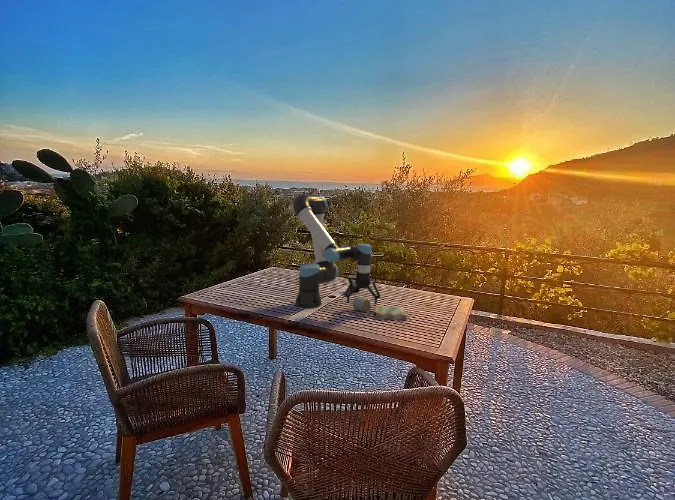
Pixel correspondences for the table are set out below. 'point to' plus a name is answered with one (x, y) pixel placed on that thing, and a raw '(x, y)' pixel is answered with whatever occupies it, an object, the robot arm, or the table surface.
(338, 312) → the table surface
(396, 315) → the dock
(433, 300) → the table surface
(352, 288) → the coffee mug
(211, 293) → the table surface
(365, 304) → the ceramic mug
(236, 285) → the table surface
